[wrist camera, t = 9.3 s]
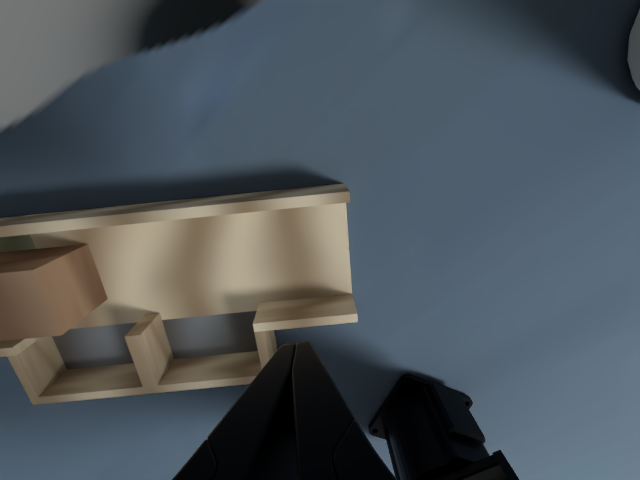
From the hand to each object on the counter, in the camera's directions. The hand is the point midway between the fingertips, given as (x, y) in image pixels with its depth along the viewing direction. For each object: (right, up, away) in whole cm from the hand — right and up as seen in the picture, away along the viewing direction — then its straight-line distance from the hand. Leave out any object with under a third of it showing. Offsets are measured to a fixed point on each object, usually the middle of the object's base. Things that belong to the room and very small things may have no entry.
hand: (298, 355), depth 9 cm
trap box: (-9, 0, +12) cm, 15 cm away
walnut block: (-17, +1, +11) cm, 20 cm away
